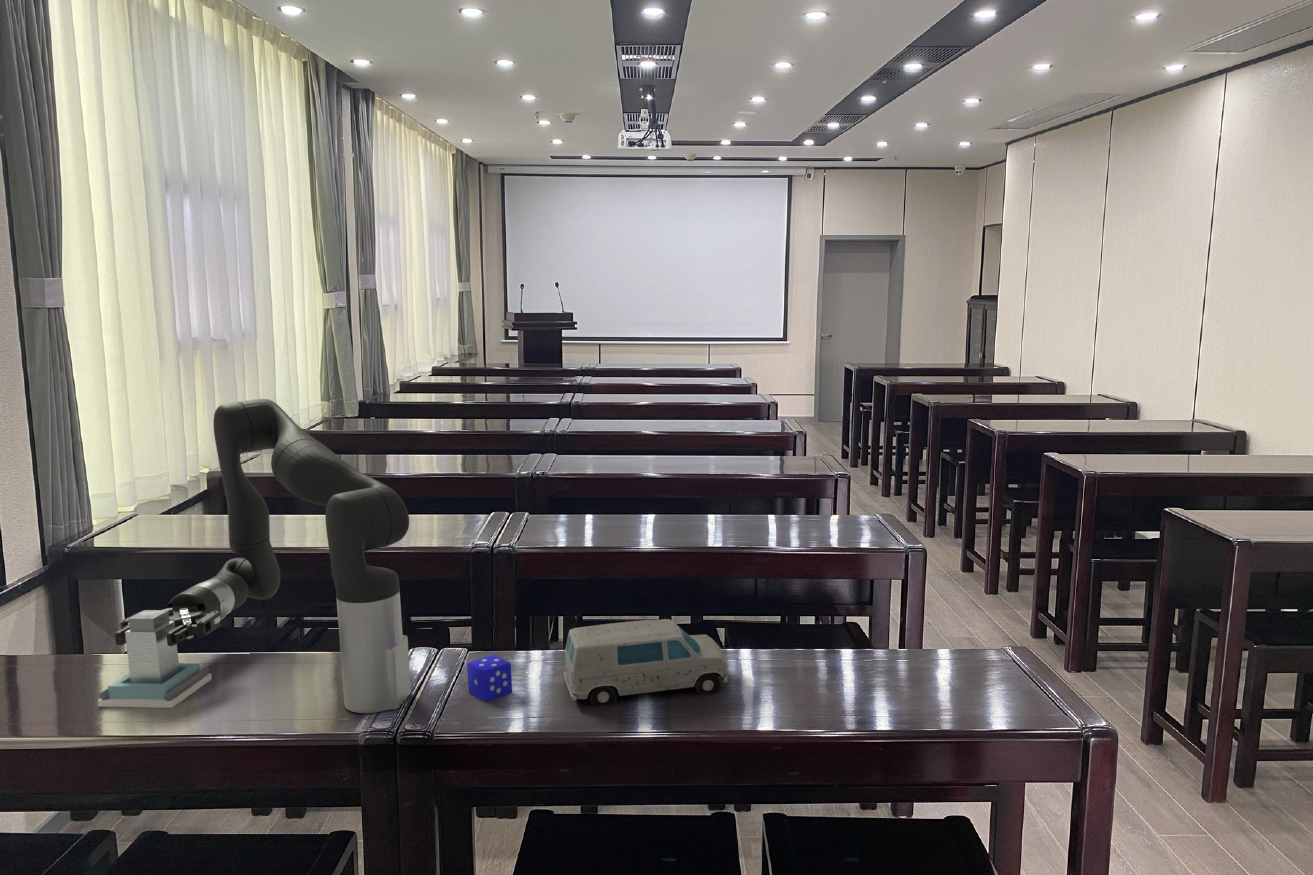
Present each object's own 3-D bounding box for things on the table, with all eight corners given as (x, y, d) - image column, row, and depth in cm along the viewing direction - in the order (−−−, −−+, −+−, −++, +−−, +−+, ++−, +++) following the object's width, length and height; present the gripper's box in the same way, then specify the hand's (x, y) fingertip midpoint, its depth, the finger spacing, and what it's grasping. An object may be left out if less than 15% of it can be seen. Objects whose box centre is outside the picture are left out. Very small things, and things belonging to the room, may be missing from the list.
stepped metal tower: (180, 680, 153) (173, 609, 151) (161, 693, 148) (154, 619, 146) (151, 679, 153) (143, 609, 151) (131, 692, 148) (123, 619, 147)
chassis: (211, 679, 156) (209, 661, 155) (171, 707, 145) (170, 689, 144) (143, 678, 157) (141, 660, 156) (98, 706, 146) (96, 688, 145)
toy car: (730, 693, 146) (729, 631, 144) (571, 711, 141) (569, 647, 139) (711, 667, 156) (711, 609, 155) (563, 683, 151) (560, 623, 149)
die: (468, 692, 148) (466, 662, 147) (495, 683, 151) (493, 654, 150) (485, 702, 144) (483, 671, 144) (512, 692, 148) (511, 662, 147)
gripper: (160, 585, 163) (97, 616, 147) (239, 585, 162) (184, 617, 146) (165, 626, 165) (103, 662, 149) (242, 627, 163) (188, 663, 147)
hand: (143, 639), depth 147 cm, fingers open, 8 cm apart
